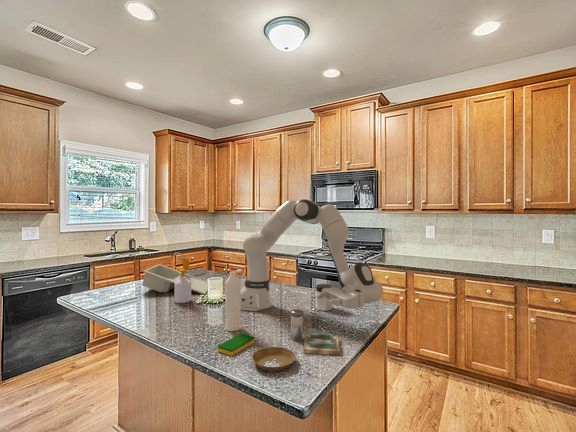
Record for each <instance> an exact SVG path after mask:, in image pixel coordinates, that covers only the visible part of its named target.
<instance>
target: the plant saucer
mask: <svg viewBox="0 0 576 432" xmlns="http://www.w3.org/2000/svg"><path fill="white" fill-rule="evenodd" d="M296 357H297V356H296V354H295V352H293V351H292V349H288V348H285V347H279V346H270V347H264V348H261V349H259V350H256V351H255V352H253V354H252V355H251V359H252V361H253V363H254V364H255V365H256V366H257V367H258V368H259V369H261V370H263V371H266V370H267V371H266V372H280V370H281V371H283V369H284V370H286V369H288V368H289V367H290V366H291V365H292V364H293V363H294V361H296ZM273 359H276V360H274V361H278V362H281V364H279V365H280V366H279V367H266V366H264V365H265V364H266V363H265V362H266V361H271V362H272V360H273ZM278 362H276V363H278ZM282 362H283V363H282ZM268 363H270V362H268Z"/></svg>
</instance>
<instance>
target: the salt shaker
mask: <svg viewBox="0 0 576 432" xmlns="http://www.w3.org/2000/svg"><path fill="white" fill-rule="evenodd" d="M289 316H290V340H291V341H294V342H300V341H303V331H304V330H303V329H304V328H303V326H304V324H303V323H304V320H303V316H304V310H303V309H299V308H298V309H297V308H296V309H291V310H290V311H289Z"/></svg>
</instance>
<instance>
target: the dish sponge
mask: <svg viewBox="0 0 576 432" xmlns="http://www.w3.org/2000/svg"><path fill="white" fill-rule="evenodd" d="M255 340H256V338H255V336H252V335H249V334H244V333H239V334H237V335H235V336H234V337H231V338H230V339H228V340H225V341H224V342H222V343H220V344H218V345H217V352H218V353H221V354H225V355H228V356H232V357H233V356H234V355H235V354H238V353H239V352H241V351H242V350H245V349H246V348H247V347H249V346H251V345H253V344H254V343H255V342H256V341H255Z"/></svg>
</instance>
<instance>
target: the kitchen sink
mask: <svg viewBox="0 0 576 432" xmlns="http://www.w3.org/2000/svg"><path fill="white" fill-rule="evenodd" d="M176 255H180V256H181V257H182V258H185V259H187V258H186V256H185V255H184V254H183V253H181V252H174V253H173V256H176ZM142 272H143V273H144V277H143V280H142V284H141V286H142V287H146V288H148V289H150V290H153V291H156V292H159V293H161V292H167V291H168V292H170V291H171V290H172V289H174V288H173V287H174V285H175V282H176V281H178V280H179V279H180V275H181V272H180V271H178V270H176V269H174V268H171V267H168V266H165V265H163V264H161V263H159V264H155V265H154V266H151V267H149V268H147V269H145V270H143V271H142ZM189 272H190V269H189V270H186V271H185V272H184V274H186V279H188V280H189V281H191V291H193V292H196V293H199V294H201V295H206V294H207V293H208V292H207V282H208V281H206V280H203V279H201V278H199V277H195V276H192V275H190V274H189ZM171 288H172V289H171ZM170 289H171V290H170ZM168 292H167V293H168ZM206 292H207V293H206ZM205 293H206V294H205Z"/></svg>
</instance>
